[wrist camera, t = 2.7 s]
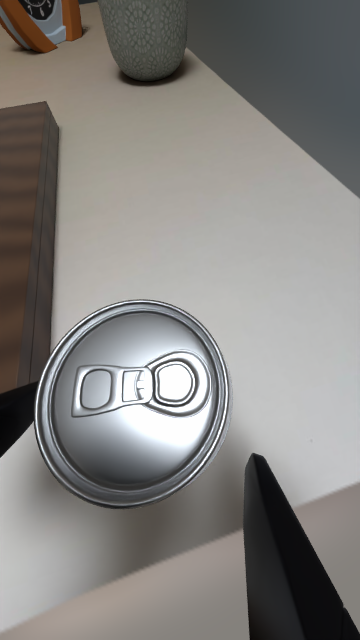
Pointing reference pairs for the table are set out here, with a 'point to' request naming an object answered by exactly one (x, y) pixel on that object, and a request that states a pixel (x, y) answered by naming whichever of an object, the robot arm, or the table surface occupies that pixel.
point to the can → (132, 404)
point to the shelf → (26, 240)
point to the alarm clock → (41, 22)
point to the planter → (146, 35)
